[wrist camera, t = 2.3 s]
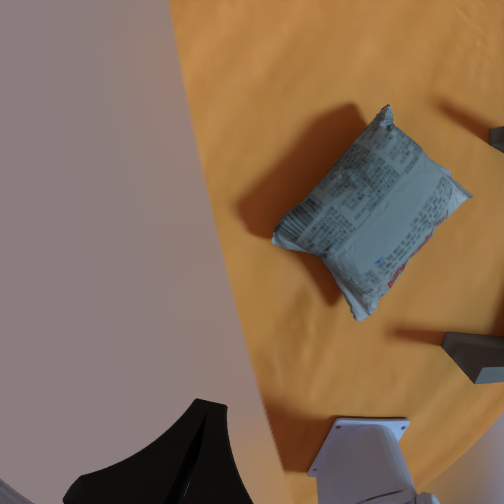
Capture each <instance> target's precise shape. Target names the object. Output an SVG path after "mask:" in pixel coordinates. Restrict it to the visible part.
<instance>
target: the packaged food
mask: <svg viewBox="0 0 504 504" xmlns="http://www.w3.org/2000/svg"><path fill="white" fill-rule="evenodd" d="M446 173H447V174H448V175H447V174H446ZM450 175H452V174H451V173H450V171H449V170H448V169H447V168H445V167H443V166H441V165H439V164H437V163H436V162H434V161H433V160H431V159H430V158H429V157H428V156H427V155H426V154H425V152H424V151H423V149H422V148H421V147H420V146H419V145H418V144H417V143H416V142H415V141H413V140H412V139H411V138H410V137H409V136H407V135H406V134H405V133H404V132H402V131H401V130H400V129H399V128H397V127H396V126H395V125H394V124H393V114H392V111H391V106H390V105H386V106H385V107H383V108H382V109H381V111H380V112H379V113H378V114H377V116H376V117H375V118H374V119H373V121H372V122H371V123H370V124H369V125H368V126H367V128H366V129H365V130H364V131H363V132H362V133H361V134H360V135H359V136H358V137H357V138H356V140H355V141H354V142H353V143H352V144H351V145H350V147H349V148H348V150H347V151H346V152H345V153H344V154H343V155H342V156H341V158H340V159H339V160H338V161H337V162H336V164H335V165H334V167H333V168H332V169H331V170H330V172H329V173H328V174H327V175H326V176H325V177H324V178H323V179H322V180H321V181H320V182H319V184H318V185H316V186H315V188H314V189H313V190H311V192H310V193H309V195H308V196H306V198H305V199H304V201H301V202H300V203H298V205H296V206H295V207H294V208H292V209H291V210H290V211H288V212H287V213H286V214H284V216H283V217H282V218H281V219H280V220H279V222H278V223H277V225H276V227H275V230H274V233H273V234H274V236H273V238H272V244H274V245H277V246H279V247H282V248H285V249H287V250H295V251H304V252H307V253H310V254H313V255H315V256H318V257H321V260H322V261H323V263H324V264H325V265H326V266H327V268H328V269H329V270H330V272H331V273H332V275H333V277H334V278H335V280H336V283H337V285H338V286H339V288H340V289H341V291H342V293H343V295H344V297H345V299H346V301H347V303H348V305H349V306H350V310H351V313H353V317H354V319H355V320H356V321H358V322H360V321H362V320H364V319H366V318H367V317H368V316H370V315H371V314H372V313H373V312H374V311H375V310H376V309H377V306H378V301H379V298H380V297H382V296H384V295H385V294H386V293H387V292H388V291H389V289H390V288H391V287H392V285H393V284H394V283H395V281H396V280H397V279H398V278H399V277H400V275H401V274H402V272H403V271H404V269H405V267H406V265H407V263H408V261H409V260H410V259H411V257H412V256H413V255H415V254H416V253H417V252H418V251H419V250H420V249H421V248H422V246H423V245H424V244H425V243H426V242H427V241H429V240H430V239H431V238H432V236H433V233H434V231H435V230H436V228H437V226H438V225H440V224H442V223H443V222H444V221H445V220H446V219H447V218H448V217H449V216H450V215H451V214H452V213H453V212H454V211H455V210H456V209H457V208H458V207H459V206H460V205H461V204H462V203H463V202H464V201H465V200H467V199H468V198H472V197H473V196H472V194H471V193H469V192H468V191H467V190H465V189H464V188H463V187H462V186H461V185H460V184H459V183H458V182H456V181H455V180H454V179H452V177H451V176H450Z"/></svg>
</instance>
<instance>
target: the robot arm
mask: <svg viewBox="0 0 504 504" xmlns="http://www.w3.org/2000/svg"><path fill="white" fill-rule="evenodd" d="M227 408H228V407H227V406H226V405H224V404H219V403H215V402H210V401H206V400H202V399H198V398H197V399H195V400H194V401H193V402H192V404H191V405H190V407H189V408H188V409H187V410H186V411H185V413H184V414H183V415H182V416H181V417H180V418H179V419H178V420H177V421H176V422H175V423H174V424H173V425H172V426H171V427H170V428H169V429H168V430H167V431H166V432H165V433H164V434H162V435H161V436H160V437H159V438H157V439H156V440H155V441H154V442H152V443H151V444H149V445H148V446H147V447H145V448H144V449H142V450H141V451H139V452H137V453H136V454H134V455H132V456H131V457H129V458H127V459H125V460H123V461H121V462H119V463H116V464H114V465H112V466H109V467H107V468H104V469H102V470H99V471H95V472H92V473H89V474H85V475H82V476H80V477H79V478H78V479H77V480H76V481H75V482H74V483H73V484H72V485H71V486H70V488H69V490H68V491H67V493H66V494H65V496H64V498H63V503H64V504H253V502H252V500H251V498H250V496H249V494H248V493H247V490H246V489H245V487H244V484H243V482H242V480H241V478H240V475H239V472H238V470H237V467H236V464H235V461H234V458H233V454H232V450H231V446H230V441H229V436H228V429H227ZM409 424H410V420H409V419H362V418H338V419H336V420H335V422H334V424H333V426H332V428H331V430H330V432H329V434H328V436H327V438H326V439H325V441H324V443H323V445H322V447H321V449H320V451H319V453H318V454H317V456H316V458H315V460H314V462H313V464H312V465H311V467H310V469H309V471H308V473H307V474H308V476H310V477H316V480H317V492H318V504H440V503H439V501H438V499H437V498H436V497H435V496H434V495H433V494H431V493H427V492H422V493H420V494H419V495H418V494H417V492H416V489H415V486H414V483H413V481H412V478H411V475H410V472H409V470H408V467H407V464H406V462H405V459H404V457H403V454H402V451H401V449H400V446H399V444H398V441H399V440H400V438H401V436H402V435H403V433H404V432H405V430H406V429H407V427H408V426H409ZM337 426H338V427H337ZM190 479H191V480H190ZM188 484H189V485H188ZM187 487H188V488H187ZM186 489H187V490H186ZM185 492H186V493H185ZM184 495H185V496H184ZM0 504H34V503H32V502H31V501H29V500H28V499H27V498H25V497H24V496H22V495H21V494H19V493H18V492H17V491H15V490H14V489H13V488H11V487H10V486H9V485H8V484H6V483H5V482H4V481H2V480H1V479H0Z"/></svg>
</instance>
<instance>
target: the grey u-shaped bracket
mask: <svg viewBox="0 0 504 504" xmlns="http://www.w3.org/2000/svg"><path fill="white" fill-rule="evenodd" d="M489 145H491V146H493V147H494V148H496V149H498V150H500V151H502V152H503V153H504V126H503V127H498V128H493V129H490V136H489ZM441 347H442V348H443V349H444V350H445V351H446V352H447V354H448V355H449V356H450V357H451V358H452V359H453V360H454V361H455V363H456V364H457V365H458V366H459V367H460V368H461V369H462V370H463V372H464V373H465V374H466V375H467V376H468V377H469V379H470V380H471V381H472V382H473V383H474V384H483V383H496V382H504V337H502V336H488V335H475V334H464V333H453V332H447V333H446V336H445V338H444V340H443V343H442V345H441Z"/></svg>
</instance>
